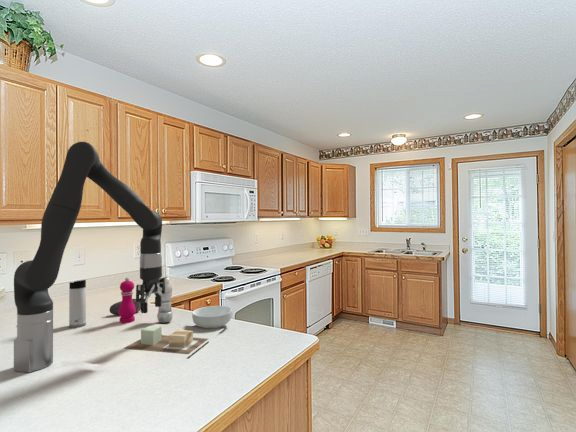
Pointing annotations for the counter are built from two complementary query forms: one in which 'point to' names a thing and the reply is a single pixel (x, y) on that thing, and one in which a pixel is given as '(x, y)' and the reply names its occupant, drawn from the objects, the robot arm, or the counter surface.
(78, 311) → the travel mug
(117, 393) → the counter surface
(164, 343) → the brown flat wooden board
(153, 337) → the sage block
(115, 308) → the perforated stone tool
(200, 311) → the cereal bowl
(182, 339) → the maple block
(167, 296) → the plastic bottle
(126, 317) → the pepper mill
